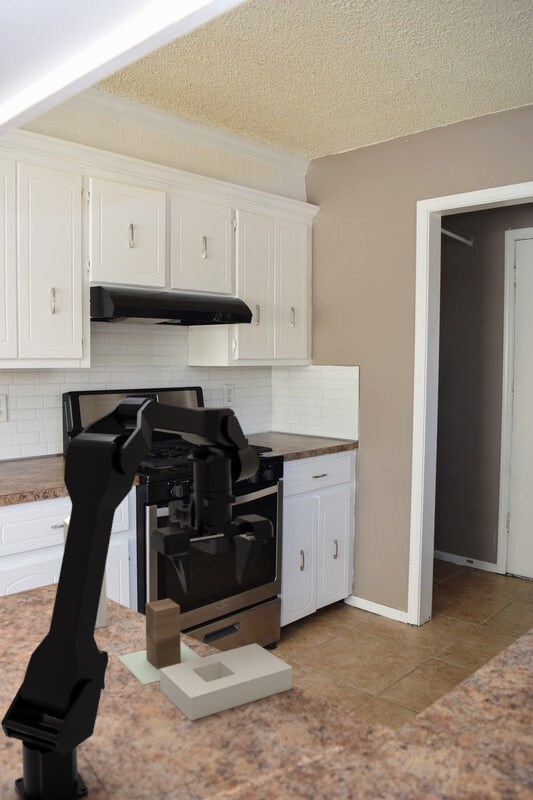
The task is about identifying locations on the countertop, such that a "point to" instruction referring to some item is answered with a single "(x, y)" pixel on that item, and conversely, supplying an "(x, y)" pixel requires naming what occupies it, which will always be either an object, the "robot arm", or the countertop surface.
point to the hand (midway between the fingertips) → (214, 588)
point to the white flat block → (224, 680)
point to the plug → (163, 633)
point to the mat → (145, 669)
